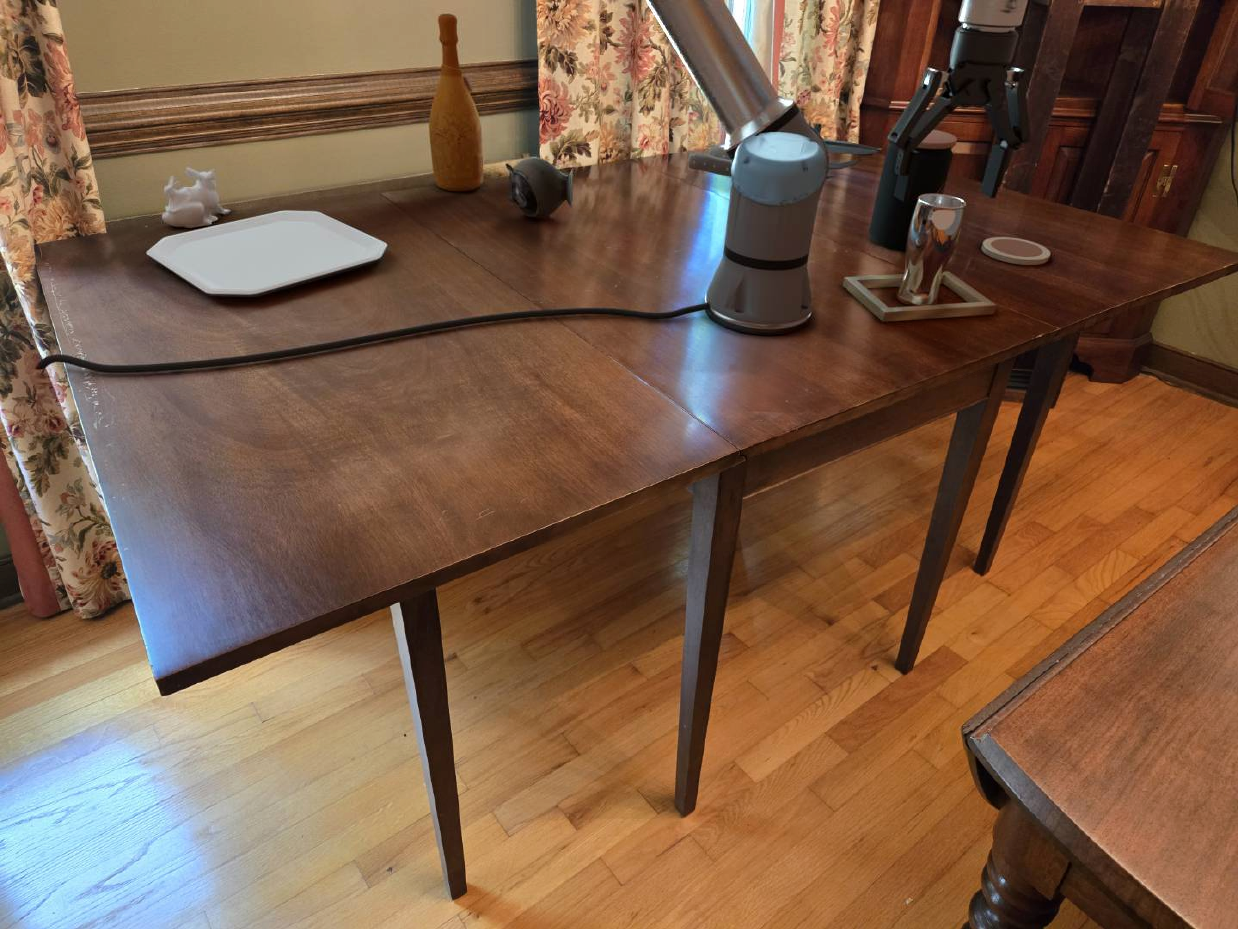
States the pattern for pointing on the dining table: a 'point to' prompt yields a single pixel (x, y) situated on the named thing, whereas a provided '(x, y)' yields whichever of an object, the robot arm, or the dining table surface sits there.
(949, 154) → the coffee jar
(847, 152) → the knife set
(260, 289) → the plate
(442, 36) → the wine bottle
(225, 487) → the dining table surface
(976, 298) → the picture frame
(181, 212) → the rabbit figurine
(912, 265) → the beer glass
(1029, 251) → the trivet
